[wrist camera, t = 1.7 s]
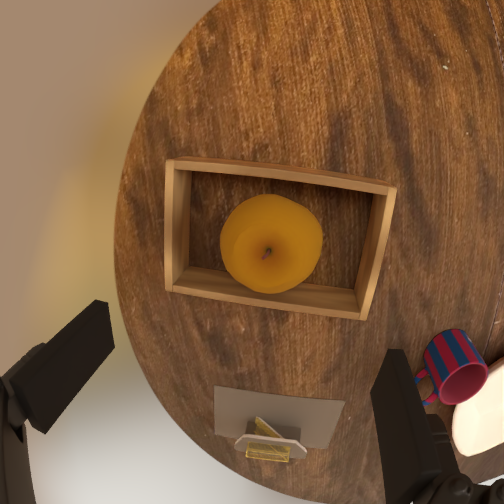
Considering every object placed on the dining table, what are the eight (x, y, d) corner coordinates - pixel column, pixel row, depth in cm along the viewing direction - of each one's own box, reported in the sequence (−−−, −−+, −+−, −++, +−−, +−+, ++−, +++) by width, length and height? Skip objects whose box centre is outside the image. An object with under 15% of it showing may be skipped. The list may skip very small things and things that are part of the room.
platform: (213, 384, 41) (200, 419, 35) (345, 400, 39) (348, 437, 33) (214, 434, 45) (204, 466, 39) (326, 448, 43) (326, 481, 37)
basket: (185, 155, 31) (165, 159, 26) (383, 180, 29) (397, 188, 24) (182, 270, 35) (164, 290, 31) (359, 296, 33) (366, 321, 29)
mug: (471, 354, 33) (490, 386, 27) (408, 387, 37) (418, 424, 30) (463, 319, 32) (485, 351, 26) (394, 356, 35) (405, 394, 29)
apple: (322, 188, 30) (330, 207, 22) (315, 270, 33) (318, 314, 25) (234, 183, 31) (209, 200, 23) (234, 263, 34) (212, 304, 26)
